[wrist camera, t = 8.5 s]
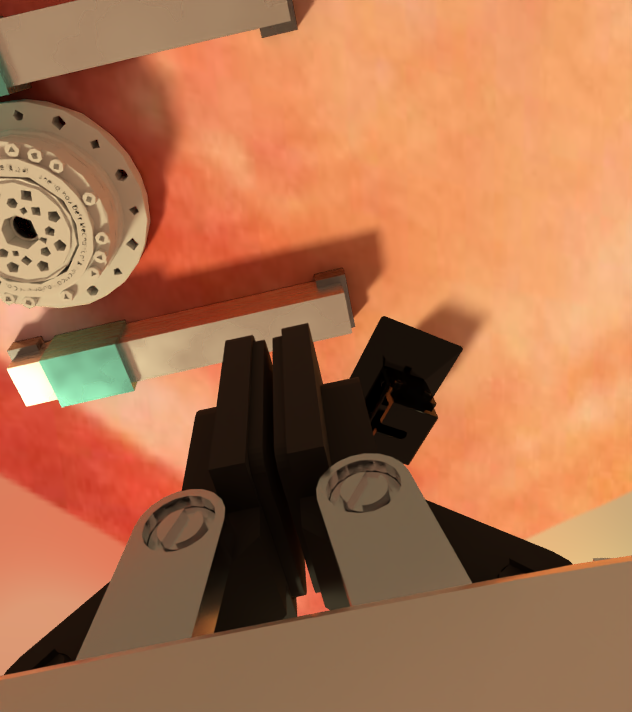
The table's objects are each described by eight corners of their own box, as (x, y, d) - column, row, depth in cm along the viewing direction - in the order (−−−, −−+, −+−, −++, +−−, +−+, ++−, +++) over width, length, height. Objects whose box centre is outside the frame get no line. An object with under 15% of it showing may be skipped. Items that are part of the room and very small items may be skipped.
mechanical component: (174, 146, 30) (-46, 61, 27) (162, 164, 26) (-96, 68, 23) (124, 320, 34) (-70, 261, 31) (108, 359, 30) (-115, 295, 27)
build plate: (380, 286, 34) (397, 321, 30) (487, 328, 36) (516, 366, 32) (295, 450, 40) (300, 499, 36) (393, 480, 42) (407, 528, 38)
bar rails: (280, -55, 26) (283, -63, 23) (352, 319, 35) (360, 342, 32) (-140, 45, 26) (-182, 48, 24) (37, 390, 35) (21, 418, 32)
